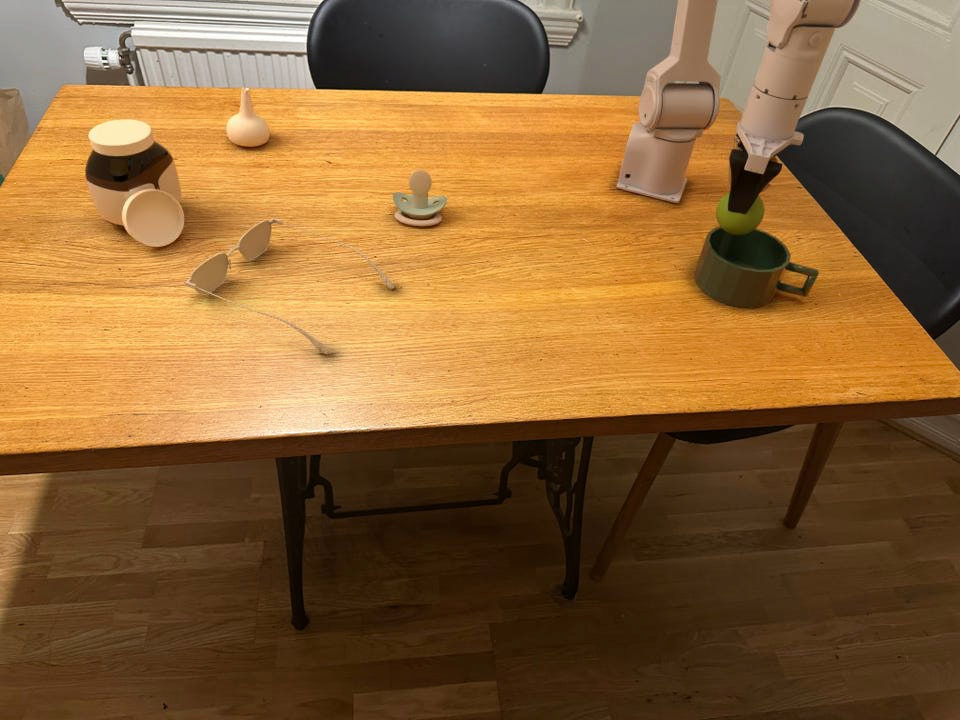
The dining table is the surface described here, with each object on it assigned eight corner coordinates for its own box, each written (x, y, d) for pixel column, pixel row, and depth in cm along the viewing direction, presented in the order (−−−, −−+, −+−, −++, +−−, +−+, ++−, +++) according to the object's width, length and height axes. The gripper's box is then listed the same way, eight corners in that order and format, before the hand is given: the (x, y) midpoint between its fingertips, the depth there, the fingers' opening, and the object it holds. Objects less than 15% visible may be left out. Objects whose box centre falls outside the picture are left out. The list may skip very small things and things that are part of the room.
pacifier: (443, 232, 93) (447, 207, 97) (445, 190, 88) (449, 166, 92) (388, 226, 93) (395, 202, 97) (387, 185, 88) (394, 161, 92)
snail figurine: (696, 219, 87) (726, 127, 78) (745, 219, 87) (780, 128, 79) (711, 243, 83) (745, 149, 75) (762, 243, 84) (800, 150, 75)
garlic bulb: (219, 142, 106) (209, 90, 100) (249, 128, 110) (241, 77, 104) (249, 155, 104) (241, 102, 98) (279, 140, 108) (273, 89, 102)
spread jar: (146, 192, 94) (122, 109, 86) (218, 212, 92) (200, 128, 84) (80, 237, 86) (47, 149, 78) (158, 260, 83) (132, 172, 75)
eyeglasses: (275, 240, 88) (271, 212, 86) (399, 285, 83) (398, 257, 81) (189, 306, 78) (180, 277, 75) (324, 361, 73) (320, 333, 70)
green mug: (687, 294, 86) (700, 257, 83) (700, 252, 93) (712, 216, 90) (802, 326, 83) (820, 290, 79) (806, 280, 90) (823, 245, 87)
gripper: (817, 123, 68) (767, 241, 77) (822, 74, 78) (778, 183, 87) (744, 107, 69) (704, 224, 79) (758, 61, 79) (721, 169, 89)
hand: (739, 202), depth 83 cm, fingers closed on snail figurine, 4 cm apart
